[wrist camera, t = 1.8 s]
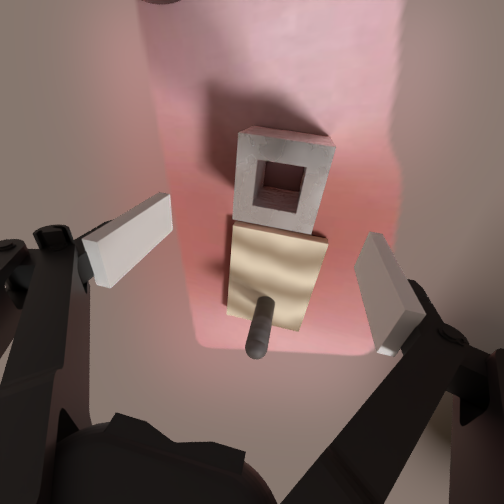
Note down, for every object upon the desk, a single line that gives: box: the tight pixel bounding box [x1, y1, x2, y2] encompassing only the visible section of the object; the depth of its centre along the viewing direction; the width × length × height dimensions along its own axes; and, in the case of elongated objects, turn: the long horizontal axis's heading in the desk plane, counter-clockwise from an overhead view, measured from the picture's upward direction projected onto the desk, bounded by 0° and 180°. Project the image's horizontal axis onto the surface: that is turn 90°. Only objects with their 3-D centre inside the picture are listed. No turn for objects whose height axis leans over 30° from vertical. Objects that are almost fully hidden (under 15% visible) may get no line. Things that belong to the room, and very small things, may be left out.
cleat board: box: [227, 221, 328, 359], centre depth 33 cm, size 18×13×12 cm
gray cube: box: [232, 126, 336, 234], centre depth 26 cm, size 9×9×7 cm
